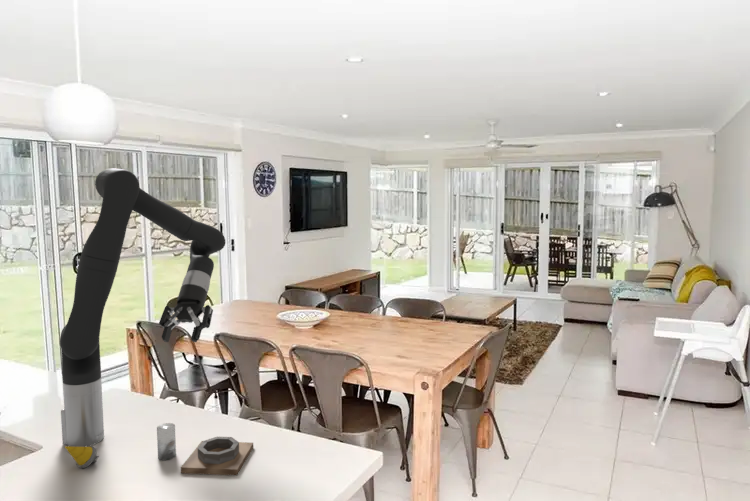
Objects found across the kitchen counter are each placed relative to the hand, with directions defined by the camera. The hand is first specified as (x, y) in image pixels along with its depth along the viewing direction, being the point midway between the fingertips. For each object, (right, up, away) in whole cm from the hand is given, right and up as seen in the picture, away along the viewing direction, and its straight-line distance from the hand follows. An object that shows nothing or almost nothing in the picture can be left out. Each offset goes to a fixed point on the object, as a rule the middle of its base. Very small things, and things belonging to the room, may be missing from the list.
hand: (179, 341), depth 150 cm
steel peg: (0, -28, -8) cm, 30 cm away
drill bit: (-19, -29, -14) cm, 37 cm away
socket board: (+14, -29, -10) cm, 33 cm away
